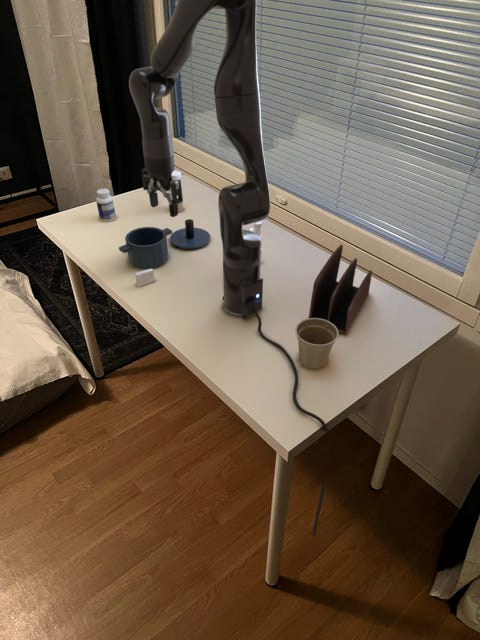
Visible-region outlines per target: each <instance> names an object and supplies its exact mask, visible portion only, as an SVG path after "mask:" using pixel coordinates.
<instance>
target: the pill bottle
mask: <svg viewBox="0 0 480 640" xmlns="http://www.w3.org/2000/svg"><path fill="white" fill-rule="evenodd" d="M110 194H111V192H110V189H108V188H105V187H104V188H99V189H97V191H96V195H97V197H96V198H95V201H96V207H97V212H98V217H99V220H100V221H103V222H110V221H113V220H115V219H116V209H115V204H114V198H113V196H112V195H110Z"/></svg>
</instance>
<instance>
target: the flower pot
mask: <svg viewBox="0 0 480 640" xmlns="http://www.w3.org/2000/svg"><path fill="white" fill-rule="evenodd" d="M294 332H295V335H296V338H297V342H298V343H297V344H298V360H299V362H300V363H301V364H302V366H303V367H305V368H308V369H312V370H317V369H319V368H323V367H324V366H325V365H326V364H327V362H328V358H329V356H330V352H331V350H332V348H333V346H334V344H335V343H336V341H338V338H339V334H340V333H339V332H338V329H337V328H336V326H335V325H333V324H332V323H331V322H329V321H327V320H324V319H319V318H309V317H308V318H305V319H303V320H301V321H299V322H298V323H297V324H296V325H295V329H294Z"/></svg>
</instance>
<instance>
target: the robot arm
mask: <svg viewBox="0 0 480 640" xmlns="http://www.w3.org/2000/svg"><path fill="white" fill-rule="evenodd" d="M212 10H224V15H225V30H226V31H225V32H226V34H225V35H226V37H225V44H224V48H223V53H222V56H221V59H220V62H219V65H218V67H217V72H216V74H215V78H214V83H213V84H214V85H213V95H214V96H213V97H214V106H215V113H216V121H217V123H218V126H219V128H220V130H221V132H222V133H223V135H224V136H225V137H226V139H227V140H228V141H229V143H230V144H231V145H232V147H233V148H234V149H235V151H236V153H237V154H238V156H239V158H240V160H241V162H242V167H243V170H244V177H245V181H244V182H240V183H236V184H231V185H227V186H224V187H222V188H221V189H220V191H219V194H218V199H217V200H218V201H217V202H218V205H217V206H218V218H219V231H220V238H221V243H222V282H223V283H222V285H223V286H222V287H223V289H222V290H223V291H222V292H223V296H222V302H223V309H224V311H225V312H226V313H227V314H229V315H231V316H232V317H236V318H237V317H239V318H243V319H248V318H250V317H251V316H253V315H255V317H256V319H257V322H258V325H257V332H258V334H259V336H260V337H261V338H262V339H263V340H265V341H266V342H268V343H269V344H271V345H273V346H275V347H276V348H278V349H280V350H281V351H282V353H283V354H284V356H285V357H286V358H287V360H288V362H289V363H290V366H291V368H292V370H293V371H292V372H293V374H294V385H293V391H292V400H293V404H294V406H295V408H296V409H297V410H298V411H299V412H301V413H303V414H305V415H307V416H308V417H310V418H313V419H314V420H317V421H318V422H319V423H320V425H322V427H323V429H324V431H325V432H329V428H328V426H327V424H326V422H325V421H324V420H323V419H322V418H321V417H319V416H318V415H316V414H315V413H313V412H311V411H308V410H306V409H304V408H303V407H302V406H301V405H300V404H299V402H298V399H297V391H298V386H299V373H298V371H297V368H296V365H295V362H294V360H293V359H292V357H291V356H290V354H289V352H287V350H286V349H285V348H284V347H283V346H282V345H281V344H279V343H277V342H276V341H273V340H271V339H269V338H268V337H266V336H265V335H264V333H263V332H262V319H261V316H260V314H259V313H258V312H260V311H261V310H262V309H263V295H264V294H263V293H264V292H263V290H264V278H262V276H261V267H262V265H261V264H262V262H261V260H262V253H261V246H262V240H261V238H260V237H259V236H258V235H257V234H256V233H254V232H252V231H249V230H248V229H244V228H243V227H244V226H247V225H251V224H255V222H261V221H264V220H266V219H268V217H269V215H270V213H271V195H270V186H269V181H268V174H267V168H266V167H267V166H266V161H265V153H264V146H263V145H264V144H263V133H262V132H263V130H262V113H261V112H262V111H261V95H260V85H259V76H258V75H259V74H258V55H257V54H258V53H257V0H177V2H176V5H175V8H174V11H173V14H172V16H171V18H170V21H169V23H168V24H167V26H166V29H165V30H164V32H163V33H162V35H161V37H160V38H159V40H158V42H157V43H156V44H155V46H154V48H153V49H152V51H151V55H150V64H151V65H149V66H145V67H140V68H136V69H134V70H133V71H132V72H131V73H130V75H129V79H128V88H129V92H130V96H131V98H132V100H133V103H134V106H135V108H136V111H137V113H138V116H139V119H140V126H141V135H142V136H141V137H142V152H143V153H142V154H143V161H144V168H142V169H141V180H142V189H143V190H144V191H146V193H147V195H149V203H150V207H151V208H156V207H158V206H159V196H158V192H157V191H159V192H160V193H162V195H163V198H166V200H167V202H168V208H169V217H171V218H176V217H177V216H178V215H179V212H178V204H179V203H181V202H183V203H184V197H183V196H184V195H183V187H182V188H181V186H182V180H181V181H180V180H177V181H174V180H173V178H172V172H173V171H174V170H175V158H174V146H173V140H172V139H173V138H172V134H171V133H172V132H171V121H170V115H169V112H168V111H167V110H166V109H165V108H162V107H156V106H155V104H154V100H158V99H162V98H166V97H167V96H168V95H170V94H171V93H172V92H173V91H174V89H175V87H176V85H177V81H178V79H179V75H180V72H181V71H182V69H183V68H184V67H185V66H186V64H187V62H188V61H190V58H191V57H192V55H193V53H194V50H195V48H196V42H197V28H198V26H199V24H200V22H201V21H202V20H203V18H204V17H205V16H206V15H207V14H209V13H210V12H211V11H212ZM170 189H171V192H169V190H170ZM171 195H172V198H173V199H171V197H170V196H171ZM177 195H178V198H177ZM325 490H326V484H324V483H321V489H320V494H319V499H318V504H317V509H316V513H315V519H314V524H313V528H312V535H311V536H312V537H313V538H315V537H316V534H317V528H318V523H319V518H320V514H321V509H322V505H323V500H324V495H325Z"/></svg>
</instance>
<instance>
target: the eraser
mask: <svg viewBox="0 0 480 640" xmlns="http://www.w3.org/2000/svg"><path fill="white" fill-rule="evenodd" d="M134 276H135V281H136V286H137V287H141V286H145V285H147V284H151V283H154V282H155V272H154V268H153V269H152V268H151V269H144V270H142V271H138V272H135V275H134Z"/></svg>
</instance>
